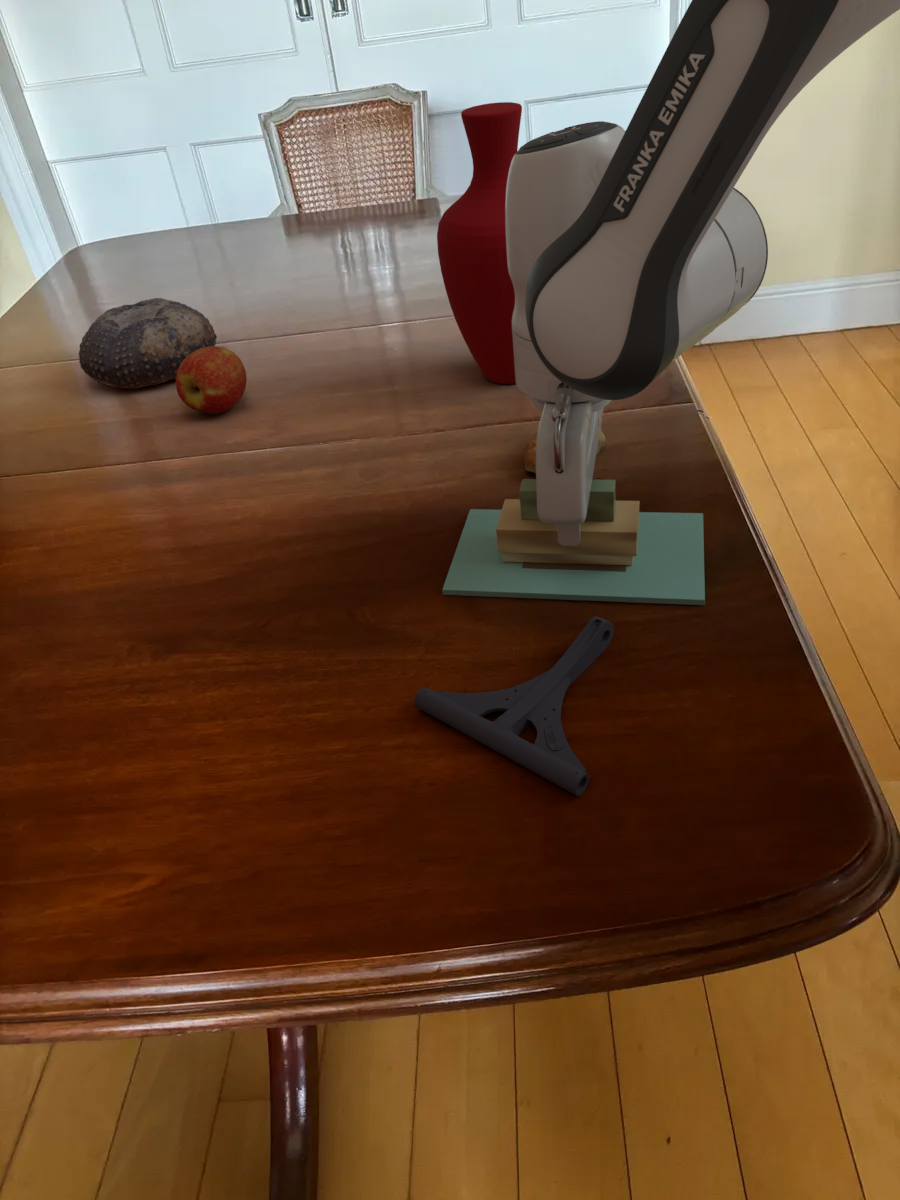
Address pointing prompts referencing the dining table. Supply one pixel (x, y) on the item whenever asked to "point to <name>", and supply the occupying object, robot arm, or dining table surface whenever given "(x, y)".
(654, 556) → the mat
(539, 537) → the brush
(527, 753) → the bracket
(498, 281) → the vase
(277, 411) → the dining table surface
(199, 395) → the apple
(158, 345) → the sea urchin shell
